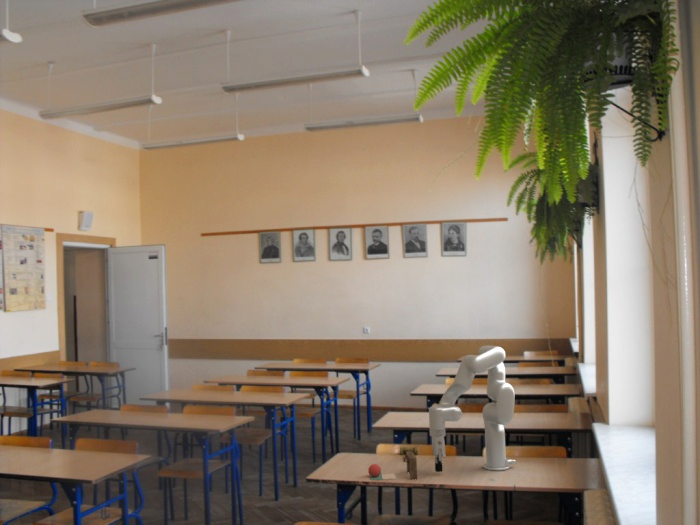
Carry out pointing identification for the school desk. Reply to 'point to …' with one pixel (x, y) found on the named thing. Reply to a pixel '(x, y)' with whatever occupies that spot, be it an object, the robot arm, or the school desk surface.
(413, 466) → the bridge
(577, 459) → the school desk surface
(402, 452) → the gavel
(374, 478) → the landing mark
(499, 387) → the robot arm
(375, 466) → the ball
